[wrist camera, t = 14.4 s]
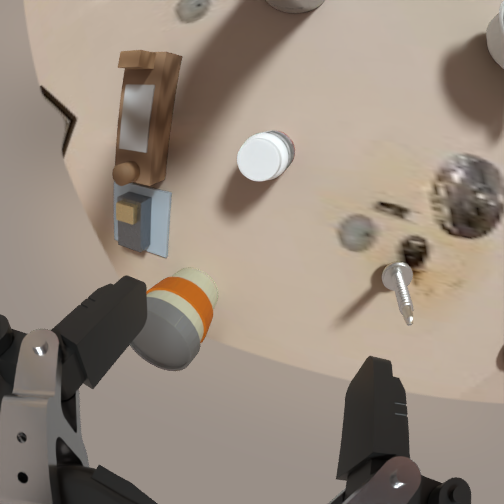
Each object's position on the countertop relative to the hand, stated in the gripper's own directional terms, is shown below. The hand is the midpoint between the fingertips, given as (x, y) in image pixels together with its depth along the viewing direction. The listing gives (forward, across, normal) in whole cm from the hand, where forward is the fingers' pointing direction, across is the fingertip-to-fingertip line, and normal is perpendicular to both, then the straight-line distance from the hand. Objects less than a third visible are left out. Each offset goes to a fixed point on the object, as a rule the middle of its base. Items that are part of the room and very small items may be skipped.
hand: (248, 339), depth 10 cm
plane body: (+33, +26, -3) cm, 42 cm away
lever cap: (+32, +27, +15) cm, 45 cm away
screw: (+33, -16, +11) cm, 39 cm away
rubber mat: (+33, +27, +15) cm, 45 cm away
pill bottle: (+33, +6, -1) cm, 34 cm away
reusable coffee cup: (+33, +15, +26) cm, 45 cm away
